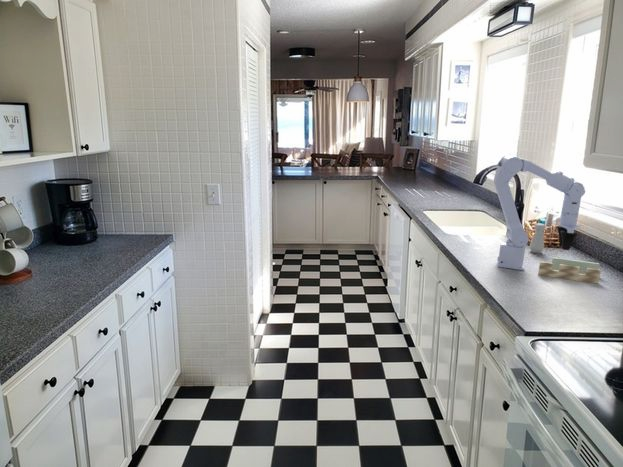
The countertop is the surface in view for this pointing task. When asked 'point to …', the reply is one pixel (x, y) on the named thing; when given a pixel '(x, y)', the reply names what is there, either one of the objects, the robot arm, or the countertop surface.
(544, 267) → the maple slat
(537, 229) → the salt shaker
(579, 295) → the countertop surface
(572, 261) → the green plate
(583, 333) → the countertop surface
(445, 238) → the countertop surface
